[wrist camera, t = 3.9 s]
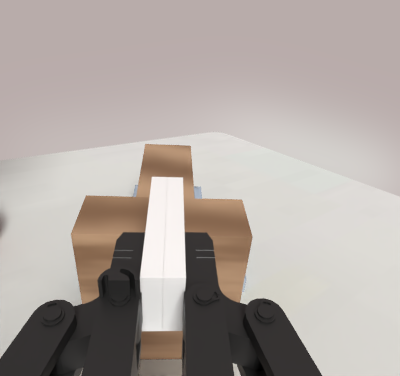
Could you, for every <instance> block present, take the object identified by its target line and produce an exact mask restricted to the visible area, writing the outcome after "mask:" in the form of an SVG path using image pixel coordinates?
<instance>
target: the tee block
mask: <svg viewBox="0 0 400 376" xmlns="http://www.w3.org/2000/svg"><path fill="white" fill-rule="evenodd" d="M152 177H182V178H183V195H184V229H185V232H207V233H208V235H209V236H210V237H211V239H212V240H213V246H214V253H215V261H216V268H217V276H218V283H219V287H220V290H221V291H222V293H223V294H224V295H225V296H226V297H228V298H229V299H231V300H233V301H236V302H239V303H240V299H241V294H242V289H243V283H244V278H245V273H246V268H247V263H248V257H249V252H250V247H251V242H252V234H251V230H250V226H249V223H248V219H247V216H246V212H245V209H244V205H243V201H242V200H232V199H195V198H194V185H193V172H192V159H191V146H181V145H155V144H145V149H144V155H143V161H142V166H141V172H140V178H139V183H138V189H137V195H136V197H118V196H86V197H85V200H84V202H83V205H82V207H81V210H80V212H79V215H78V217H77V220H76V222H75V225H74V228H73V230H72V233H71V237H72V243H73V249H74V255H75V262H76V268H77V274H78V280H79V286H80V292H81V299H82V304H85V303H88V302H90V301H93V300H94V299H96V298H98V297H99V289H98V282H97V280H98V278H99V276H100V274H102V273H103V272H104V271H105V270H107V269H109V268H110V267H111V262H112V259H113V253H114V249H115V244H116V240H117V239H118V238H119V237H120V235H121V234H122V233H123V232H145V231H146V222H147V214H148V206H149V197H150V189H151V180H152ZM182 339H183V331H142V332H141V356H140V359H182V358H181V356H182Z"/></svg>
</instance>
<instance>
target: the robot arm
mask: <svg viewBox="0 0 400 376" xmlns="http://www.w3.org/2000/svg"><path fill="white" fill-rule="evenodd" d="M97 282H98V289H99V297H98V298H96V299H94V300H93V301H90V302H88V303H85V304H81V305H77V306H74V307H73V306H72V304H71V303H70V302H67V301H65V300H53V301H49V302H46V303H45V304H43V305H41V306H39V307H38V308H37V309H36V310H35V311H34V313H33V314H32V315H31V317H30V318H29V319H28V321H27V322H26V324H25V325H24V326H23V328H22V329H21V331H20V332H19V333H18V335H17V336H16V338H15V339H14V340H13V342H12V343H11V345H10V346H9V347H8V349H7V350H6V351H5V353H4V354H3V356H2V357H1V358H0V376H79V375H80V373H81V371H82V368H83V372H82V376H139V367H140V356H141V332H142V331H183V339H182V356H181V358H182V376H234V372H233V364H232V363H235V364H237V367H238V369H239V372H240V374H241V376H322V375H321V373H320V371H319V370H318V368H317V366H316V365H315V363H314V361H313V360H312V358H311V356H310V355H309V353H308V351H307V350H306V348H305V346H304V345H303V343H302V341H301V340H300V338H299V336H298V335H297V333H296V331H295V330H294V328H293V326H292V325H291V323H290V321H289V320H288V318H287V316H286V315H285V313H284V311H283V310H282V309H281V307H280V306H279V305H278V304H276V303H275V302H273V301H271V300H268V299H264V298H263V299H255V300H252V301H250V302H249V304H248V305H246V304H242V303H239V302H236V301H233V300H231V299H229V298H228V297H226V296H225V295H224V294H223V293H222V291H221V290H220V287H219V283H218V276H217V268H216V261H215V253H214V246H213V240H212V239H211V237H210V236H209V235H208V233H207V232H185V229H184V195H183V178H182V177H152V180H151V189H150V197H149V206H148V214H147V222H146V231H145V232H123V233H122V234H121V235H120V237H119V238H118V239H117V240H116V244H115V249H114V253H113V259H112V262H111V267H110V268H109V269H107V270H105V271H104V272H103V273H102V274H100V276H99V278H98V280H97Z"/></svg>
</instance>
